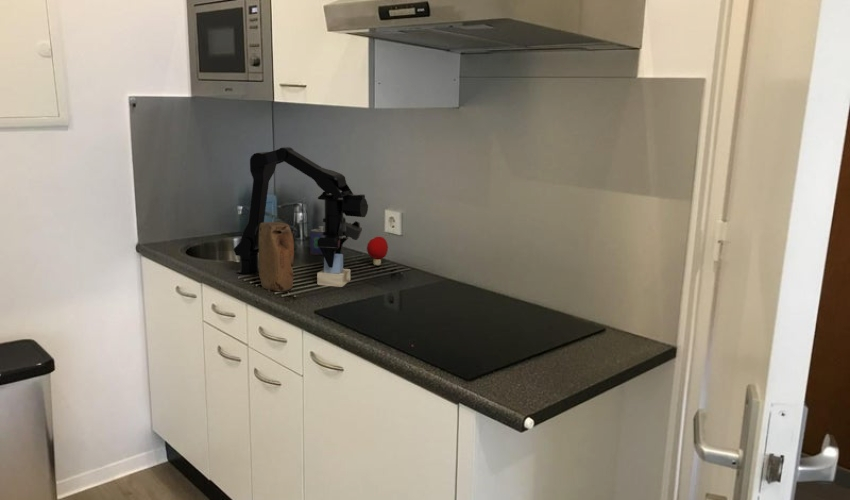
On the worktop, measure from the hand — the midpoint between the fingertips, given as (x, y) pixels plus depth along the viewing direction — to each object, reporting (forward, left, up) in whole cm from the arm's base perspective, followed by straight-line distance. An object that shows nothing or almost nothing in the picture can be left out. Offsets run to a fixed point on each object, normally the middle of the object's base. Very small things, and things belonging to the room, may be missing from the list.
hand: (334, 263), depth 211 cm
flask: (-38, -13, -6) cm, 41 cm away
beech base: (0, 0, -6) cm, 6 cm away
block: (+9, -15, -6) cm, 19 cm away
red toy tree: (-24, +10, -6) cm, 27 cm away
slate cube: (0, 0, -2) cm, 2 cm away
